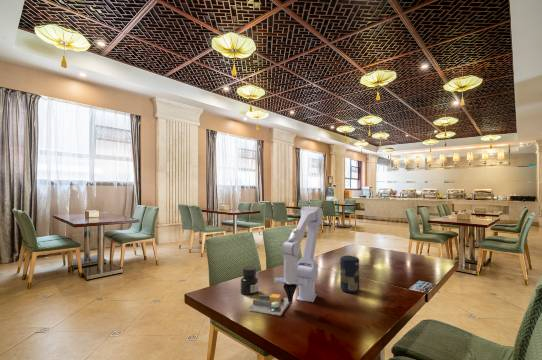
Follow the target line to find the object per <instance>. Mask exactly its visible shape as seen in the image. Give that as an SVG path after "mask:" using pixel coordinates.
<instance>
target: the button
mask: <svg viewBox="0 0 542 360" xmlns="http://www.w3.org/2000/svg"><path fill="white" fill-rule="evenodd" d="M271 306H272V307H273V308H277V307H279V302H272V304H271Z"/></svg>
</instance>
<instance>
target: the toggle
mask: <svg viewBox="0 0 542 360" xmlns="http://www.w3.org/2000/svg"><path fill="white" fill-rule="evenodd" d="M269 296H270V302H279V304H280V302H281V297H282V294H279V293H278V294H277V293H271V294H270V295H269Z"/></svg>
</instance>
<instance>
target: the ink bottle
mask: <svg viewBox="0 0 542 360" xmlns="http://www.w3.org/2000/svg"><path fill="white" fill-rule="evenodd" d="M258 291H259V278H258V277H257V268H256V266H245V267H242V277H241V278H240V293H241V294H242V295H245V296H253V295H257V294H258Z"/></svg>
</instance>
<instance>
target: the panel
mask: <svg viewBox="0 0 542 360" xmlns="http://www.w3.org/2000/svg"><path fill="white" fill-rule="evenodd" d="M270 296H271V295H267V294H259V295H258V299H253V301H252V304H251V306H250V307H249V311H250V312H253V313H254V312H255V313H261V314H268V315H272V316H278V317H280V316H282V315H283V313H284V312H285V310H286V309H287V307H288V306H289V305H290V303H291V302H288V297H282V296H281V302H280V304H279V307H277V308H273V307H272V306H271V304H272V302H270Z"/></svg>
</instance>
